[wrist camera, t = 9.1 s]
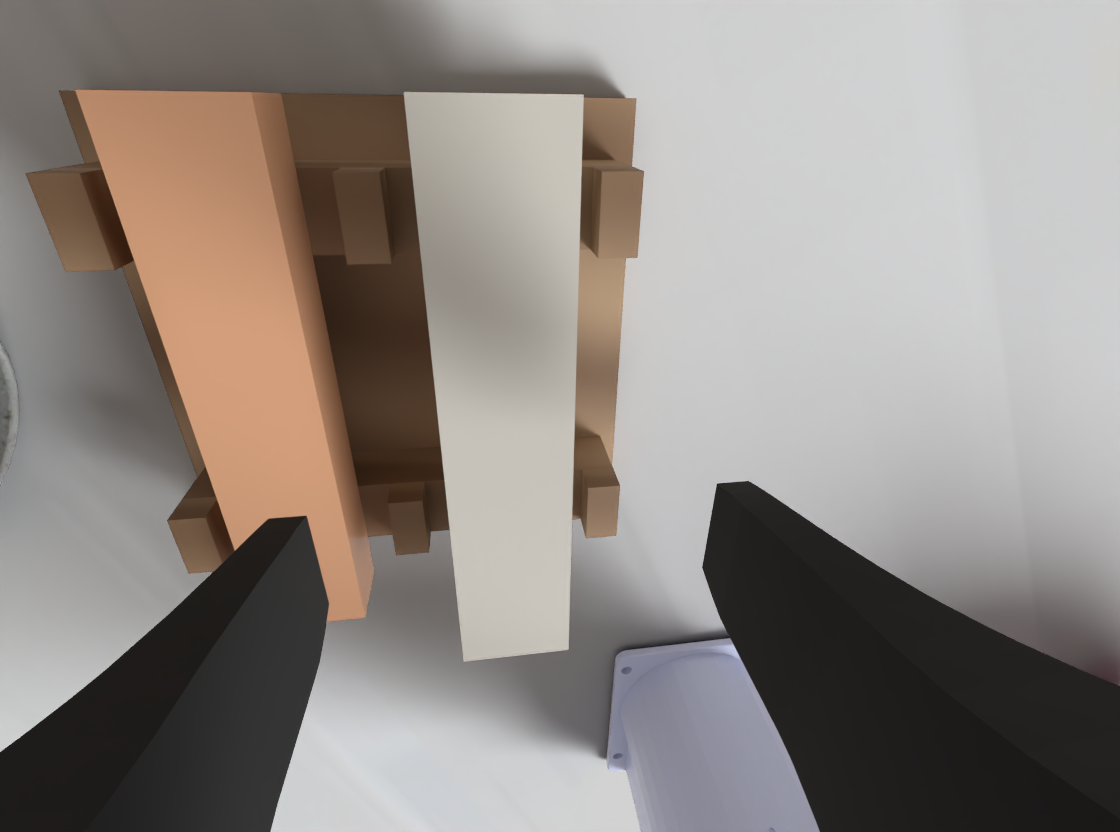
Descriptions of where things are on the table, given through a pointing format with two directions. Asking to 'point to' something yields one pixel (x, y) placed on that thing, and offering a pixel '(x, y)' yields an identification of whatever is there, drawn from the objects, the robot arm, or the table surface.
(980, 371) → the table surface
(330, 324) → the slotted wooden stand
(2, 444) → the grey cylinder
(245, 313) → the fired strip
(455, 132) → the pale grey bar
